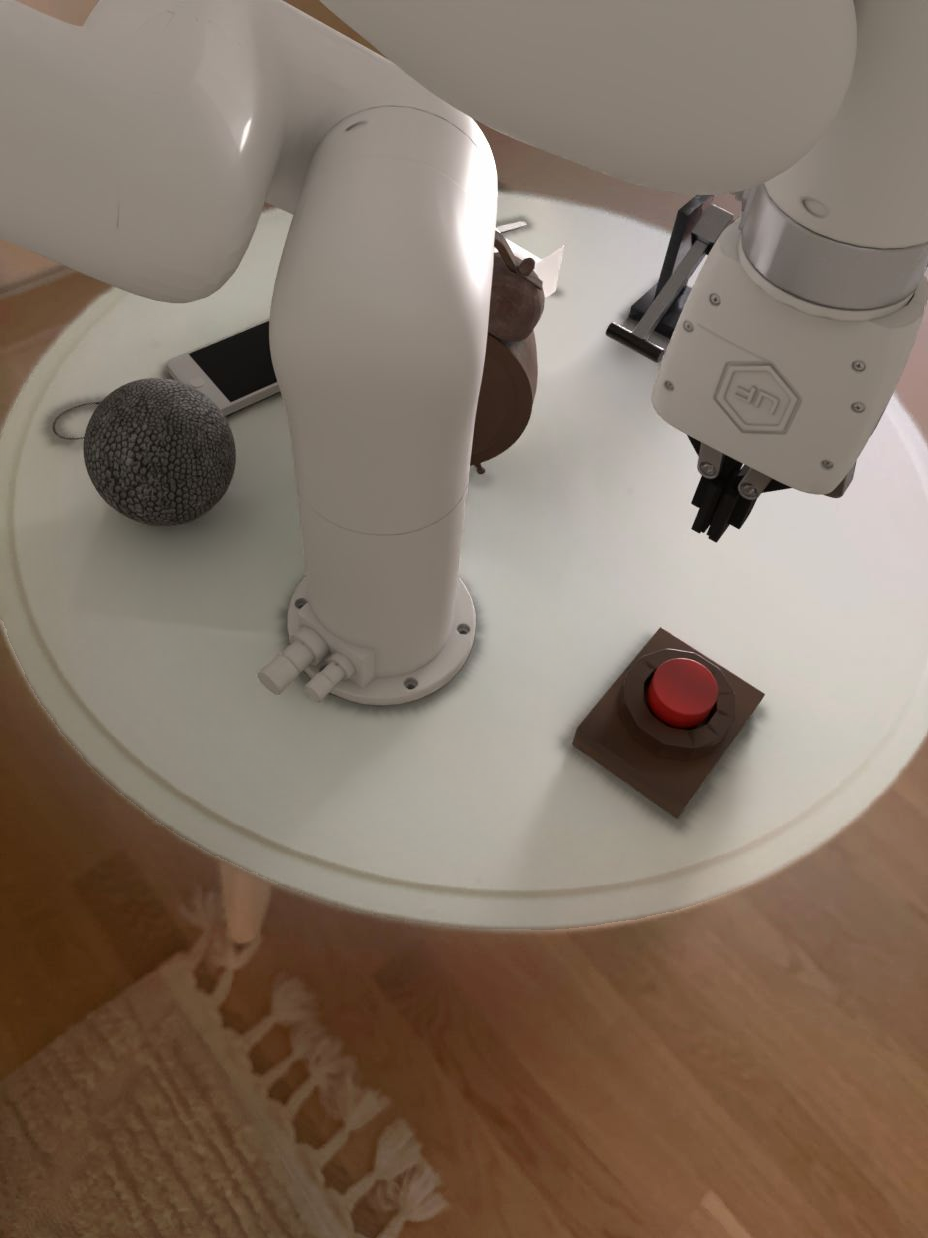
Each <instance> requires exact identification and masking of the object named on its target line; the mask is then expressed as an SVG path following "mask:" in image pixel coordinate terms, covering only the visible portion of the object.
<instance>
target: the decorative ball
mask: <svg viewBox="0 0 928 1238" xmlns="http://www.w3.org/2000/svg"><path fill="white" fill-rule="evenodd" d="M100 401H101V402H100V403H99V405H98V404H97V405H96V407H95V409H94V411H93V412H92V413H91V415H90V417H89V420H88V422H87V425H86V428H85V432H84V436H83V437H84V438H83V444H82V445H83V446H82V447H83V460H84V465H85V469H86V472H87V475H88V477H89V480H90V482H91V484H92V486H93V487H94V489H95V491H96V492H97V493H98V495H99V496H100V497H101V498H102V500H104V502H105V503H106V504H107V505H109V506H110V508H112V509H114V511H116V512H118V514H120V515H122V516H124V517H126V518H128V519H130V520H132V521H134V522H138V523H141V524H145V525H149V526H157V527H171V526H172V527H173V526H179V525H183V524H187V523H190V522H192V521H195V520H197V519H199V518H200V517H202V516H203V515H205V514H207V513H208V512H209V511H211V510H212V509H213V508H214V507H215V506H216V505H217V504H218V503H219V502H220V501H221V500H222V498H223V497H224V495H225V494H226V492H227V491H228V489H229V487H230V485H231V482H232V481H233V477H234V474H235V469H236V463H237V450H236V449H237V448H236V443H235V437H234V434H233V431H232V428H231V425H230V423H229V421H228V419H227V417H226V416H224V415H223V413H222V412H221V410H220V409H219V408H218V406H217V405H216V404H215V403H214V402H213V401H212V400H211V399H210V398H208V397H207V396H206V395H205V394H203V393H202V392H200V391H199V390H197V389H195V388H194V387H192V386H189V385H187V384H185V383H182V382H179V381H175V380H174V379H170V378H163V377H149V378H148V377H147V378H141V379H136V380H133V381H130V382H128V383H125V384H123V385H120V386H119V387H118V388H115V389H113V391H111V392H110V393H108V394H107V395H106V396H105V397H104V398H103V399H102V400H100Z"/></svg>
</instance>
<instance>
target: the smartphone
mask: <svg viewBox="0 0 928 1238" xmlns="http://www.w3.org/2000/svg"><path fill="white" fill-rule="evenodd" d="M269 320H270V318H267V319H265V320H263V321H260V322H258V323H255V324H253V325H250V326H248V327H245V328H243V329H240V330H238V331H235V332H233V333H231V334H229V335H226V336H224V337H221V338H218V339H216V340H213V341H211V342H208V343H207V344H204V345H202V346H199V347H197V348H194V349H192V350H189V351H187V352H185V353H182V354H180V355H177V356H175V357H173V358H170V359H169V360H167V361H166V362H165V366H166V371H167V373H168V374H169V375H170V376H171V377H172V379H173V380H175V381H179V382H182V383H185V384H187V385H189V386H192V387H194V388H195V389H197V390H199V391H200V392H202V393H203V394H205V395H206V396H207V397H208V398H210V399H211V400H212V401H213V402H214V403H215V404H216V405H217V406H218V408H219V409H220V410H221V412H222V413H223V415H224V416H225V417H226V416H227V415H230V414H233V413H234V412H237V411H239V410H241V409H244V408H246V407H248V406H251V405H253V404H255V403H257V402H259V401H261V400H264V399H266V398H269V397H271V396H272V395H274V394H277V393H281V391H280V388H279V385H278V382H277V378H276V375H275V372H274V368H273V364H272V359H271V352H270V343H269Z"/></svg>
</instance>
